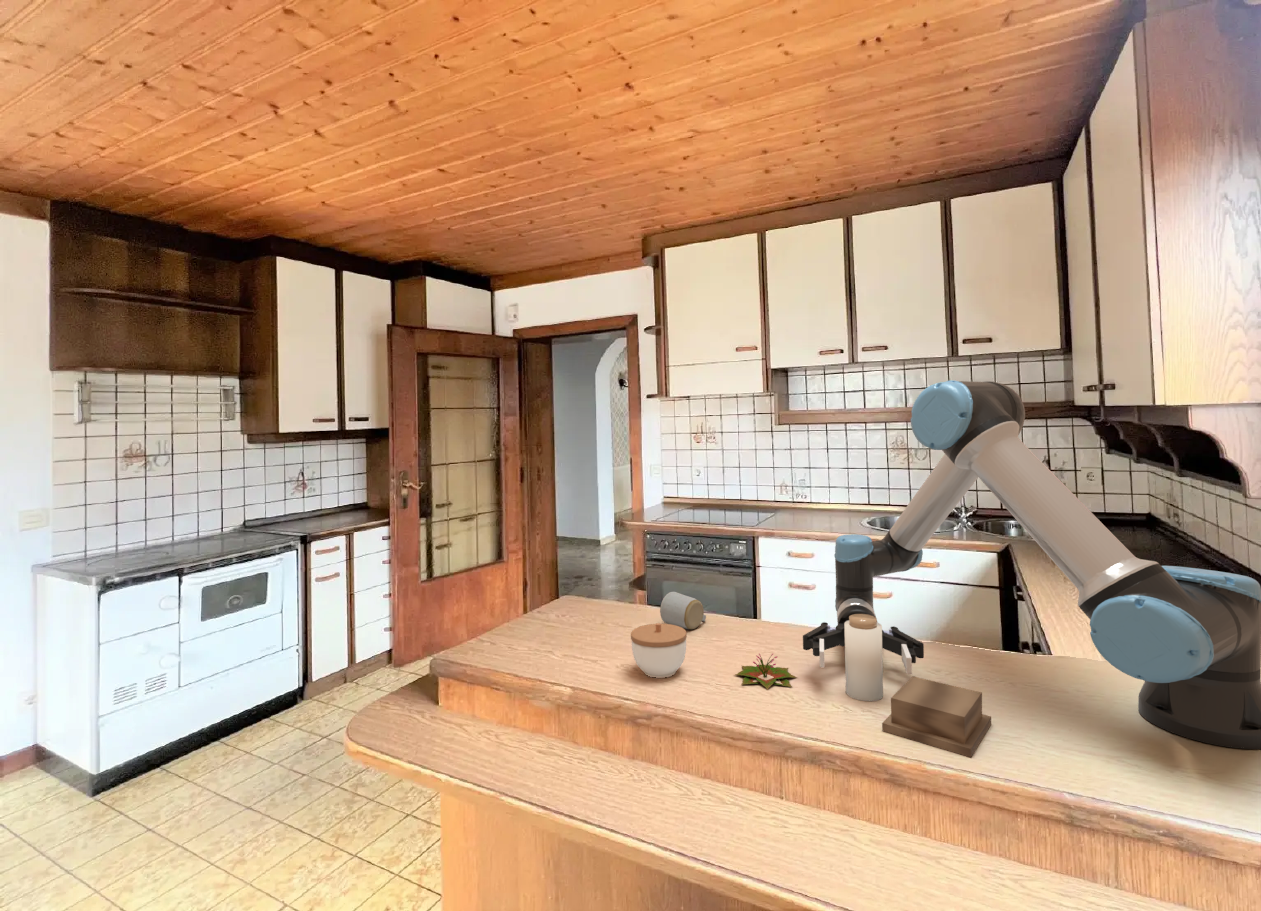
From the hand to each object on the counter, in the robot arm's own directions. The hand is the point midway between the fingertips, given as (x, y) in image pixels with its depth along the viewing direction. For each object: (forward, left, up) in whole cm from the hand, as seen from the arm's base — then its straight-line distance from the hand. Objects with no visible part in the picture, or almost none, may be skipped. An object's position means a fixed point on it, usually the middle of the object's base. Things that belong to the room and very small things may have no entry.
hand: (864, 662), depth 102 cm
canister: (+1, -3, -7) cm, 7 cm away
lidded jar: (+35, +11, -7) cm, 38 cm away
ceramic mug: (+48, -14, -7) cm, 51 cm away
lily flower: (+18, +1, -7) cm, 20 cm away
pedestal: (-12, +2, -7) cm, 14 cm away
